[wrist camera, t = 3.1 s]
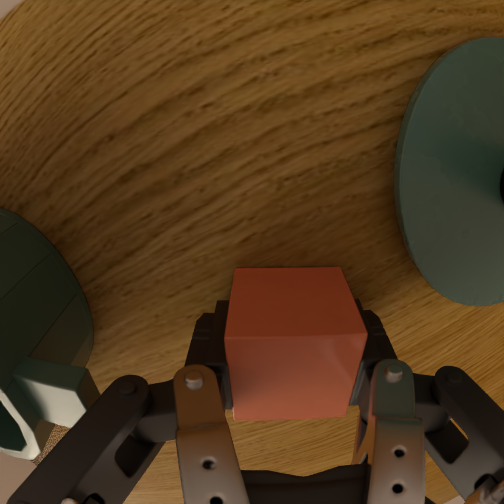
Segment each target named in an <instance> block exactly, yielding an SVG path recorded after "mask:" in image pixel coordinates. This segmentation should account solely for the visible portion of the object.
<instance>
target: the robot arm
mask: <svg viewBox="0 0 504 504" xmlns="http://www.w3.org/2000/svg"><path fill="white" fill-rule="evenodd" d="M354 300H355V303H356V305H357V308H358V310H359V313H360V315H361V318H362V320H363V323H364V325H365V328H366V330H367V333H368V336H367V340H366V344H365V348H364V352H363V356H362V359H361V363H360V367H359V370H358V374H357V378H356V381H355V385H354V388H353V392H352V395H351V399H350V402H349V406H353V405H359V409H360V412H359V415H358V419H357V428H356V436H355V444H354V452H353V458H352V463H351V465H345V466H338V467H335V468H332V469H329V470H326V471H323V472H319V473H316V474H313V475H309V476H304V477H302V476H295V475H290V474H284V473H279V472H273V471H268V470H240V467H239V463H238V460H237V456H236V452H235V448H234V444H233V441H232V437H231V433H230V429H229V425H228V423H227V421H226V417H225V409H233V406H232V397H231V389H230V380H229V371H228V363H227V361H226V351H225V342H224V336H225V329H226V322H227V316H228V309H229V302H230V300H218V301H217V304H216V309H215V313H204V314H203V315H202V316H201V317H200V318H199V319H198V320H197V321H196V325H195V329H194V332H193V336H192V340H191V343H190V347H189V351H188V355H187V358H186V362H185V366H184V367H183V368H181V369H180V370H178V371H177V372H176V374H175V375H174V378H173V379H171V380H169V381H166V382H161V383H155V384H149V385H148V383H147V381H146V380H145V379H144V378H142V377H140V376H137V375H125V376H122V377H120V378H118V379H116V380H115V381H114V382H113V383H112V384H111V385H110V386H109V387H108V388H107V389H106V390H105V391H104V392H103V393H102V395H101V396H100V397H99V398H98V399H97V400H96V401H95V402H94V403H93V404H92V406H91V407H90V408H89V409H88V410H87V411H86V412H85V413H84V414H83V415H82V417H81V418H80V419H79V420H78V421H77V422H76V423H75V424H74V425H73V427H72V428H71V429H70V430H69V431H68V432H67V433H66V434H65V435H64V437H63V438H62V439H61V440H60V441H59V442H58V443H57V444H56V446H55V447H54V448H53V449H52V450H51V451H50V452H49V453H48V454H47V456H46V457H45V458H44V459H43V460H42V461H41V462H40V463H39V465H38V466H37V467H36V468H35V469H34V470H33V471H32V472H31V474H30V475H29V476H28V477H27V478H26V479H25V480H24V482H23V483H22V484H21V485H20V486H19V487H18V488H17V490H16V491H15V492H14V493H13V494H12V495H11V496H10V498H9V499H8V501H7V503H6V504H123V502H124V501H125V499H126V498H127V497H128V495H129V494H130V492H131V491H132V490H133V488H134V487H135V485H136V484H137V482H138V481H139V480H140V478H141V477H142V475H143V474H144V472H145V471H146V470H147V468H148V467H149V465H150V464H151V462H152V461H153V460H154V458H155V457H156V455H157V454H158V452H159V451H160V449H161V448H162V446H163V445H164V443H165V442H166V441H169V440H175V439H176V447H177V455H178V463H179V470H180V477H181V484H182V491H183V497H184V504H436V503H434V502H433V501H431V500H430V499H429V498H427V497H426V496H425V450H426V451H427V452H428V454H429V455H430V456H431V458H432V459H433V460H434V461H435V463H436V464H437V465H438V467H439V468H440V469H441V471H442V472H443V473H444V474H445V476H446V477H447V478H448V480H449V481H450V482H451V484H452V485H453V486H454V488H455V489H456V490H457V491H458V493H459V494H460V495H461V497H462V498H463V499H464V501H465V503H464V504H504V411H503V410H502V409H501V408H500V407H499V406H498V405H497V404H496V403H495V402H494V401H493V400H492V399H491V398H490V397H489V396H488V395H487V394H486V393H485V392H484V391H483V390H482V389H481V388H480V387H479V386H478V385H477V384H476V383H475V382H474V381H473V380H472V379H471V378H470V377H469V376H468V375H467V374H466V373H465V372H464V371H463V370H461V369H460V368H457V367H454V366H444V367H442V368H440V369H439V370H438V371H437V372H436V374H435V376H429V375H421V374H416V373H413V372H412V370H411V368H410V367H409V366H408V365H407V364H406V363H405V362H403V361H401V360H398V359H397V356H396V354H395V352H394V349H393V347H392V345H391V343H390V340H389V338H388V336H387V335H386V332H385V329H384V328H383V325H382V323H381V321H380V318H379V317H378V316H377V315H376V314H375V313H373V312H372V311H371V310H363V308H362V306H361V303H360V301H359V299H358V298H354ZM451 417H452V419H453V420H454V421H455V422H456V423H457V424H458V425H459V427H460V428H461V429H462V430H463V431H464V432H465V433H466V435H467V437H468V440H469V441H468V440H467V439H466V438H465V436H464V435H463V434H462V433H461V432H460V431H459V429H458V428H457V427H456V426H455V425H454V424H453V423H452V421H451V420H450V419H451Z"/></svg>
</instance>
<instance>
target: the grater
mask: <svg viewBox="0 0 504 504" xmlns="http://www.w3.org/2000/svg"><path fill="white" fill-rule="evenodd" d="M36 467H37V465H35V464H34V463H33V462H31V461H30V460H28V459H22V458H17V457H13V456H10V455H8V454H6V453H4V452H2V451H0V504H6V503H7V501H8V499H9V498H10V496H11V495H12V494H13V493H14V492H15V491H16V490H17V488H18V487H19V486H20V485H21V484H22V483H23V482H24V480H25V479H26V478H27V477H28V476H29V475H30V474H31V472H32V471H33V470H34V469H35V468H36Z"/></svg>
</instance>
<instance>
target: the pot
mask: <svg viewBox="0 0 504 504" xmlns="http://www.w3.org/2000/svg"><path fill="white" fill-rule="evenodd" d="M92 345H93V324H92V318H91V314H90V311H89V307H88V304H87V302H86V299H85V296H84V294H83V292H82V290H81V288H80V286H79V284H78V281H77V280H76V278H75V276H74V275H73V273H72V271H71V269H70V268H69V266H68V265H67V264H66V262H65V261H64V259H63V258H62V256H61V255H60V254H59V252H58V251H57V250H56V249H55V248H54V246H53V245H52V244H51V243H50V242H49V241H48V240H47V239H46V238H45V237H44V235H43V234H42V233H41V232H39V231H38V230H37V229H36V228H35V227H34V226H33V225H31V224H30V223H29V222H27V221H26V220H24V219H23V218H22V217H20V216H18V215H16V214H14V213H13V212H11V211H8V210H5V209H3V208H0V451H2V452H4V453H6V454H8V455H10V456H13V457H17V458H22V459H28V460H34V459H35V458H36V457H37V456H38V455H39V454H41V453H42V451H43V449H44V446H45V444H46V442H47V440H48V438H49V436H50V434H51V432H52V430H53V427H54V425H55V424H58V425H62V426H65V427H69V428H72V427H73V425H74V424H75V423H76V422H77V421H78V420H79V419H80V418H81V417H82V415H83V414H84V413H85V412H86V411H87V410H88V409H89V408H90V407H91V406H92V404H93V403H94V402H95V401H96V400H97V399H98V398H99V397H100V396H101V394H100V393H99V391H98V389H97V387H96V385H95V383H94V380H93V378H92V376H91V374H90V372H89V370H88V369H87V368H84V367H85V366H86V364H87V362H88V360H89V356H90V353H91V350H92Z"/></svg>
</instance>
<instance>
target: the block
mask: <svg viewBox="0 0 504 504" xmlns="http://www.w3.org/2000/svg"><path fill="white" fill-rule="evenodd" d="M367 336H368V333H367V330H366V328H365V325H364V323H363V320H362V318H361V315H360V313H359V310H358V308H357V305H356V303H355V300H354V298H353V295H352V293H351V291H350V288H349V286H348V283H347V281H346V279H345V276H344V274H343V272H342V269H341V267H288V268H235V270H234V276H233V283H232V289H231V296H230V302H229V309H228V316H227V322H226V329H225V336H224V342H225V351H226V361H227V363H228V371H229V380H230V389H231V397H232V406H233V409H232V412H233V419H234V420H297V419H316V418H330V417H341V416H345V415H346V412H347V409H348V406H349V402H350V399H351V395H352V392H353V388H354V385H355V381H356V378H357V374H358V370H359V367H360V363H361V359H362V356H363V352H364V348H365V344H366V340H367Z"/></svg>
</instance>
